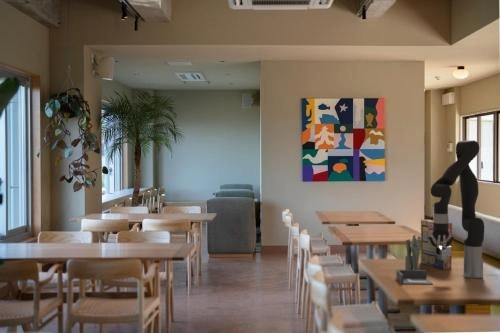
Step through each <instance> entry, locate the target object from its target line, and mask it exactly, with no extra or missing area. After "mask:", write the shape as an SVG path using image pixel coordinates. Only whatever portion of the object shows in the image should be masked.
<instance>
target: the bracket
mask: <svg viewBox="0 0 500 333" xmlns="http://www.w3.org/2000/svg"><path fill="white" fill-rule="evenodd" d="M404 243H405V249H406V255H405V257H404V258H405V262H404V263H405V264H404V266H405V267H404V268H405V269H404V270H419V259H420V254H421V243H422V240H421V236H417V238H416V234H414V235H412V240H410V238H408V239H407V240H405V242H404Z"/></svg>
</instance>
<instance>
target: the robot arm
mask: <svg viewBox="0 0 500 333" xmlns="http://www.w3.org/2000/svg"><path fill="white" fill-rule="evenodd" d="M479 152H480V144H479V142H478V141H476V140H471V139H469V140H460V141H458V142H457V143H456V145H455V156H456V161H455V162H453V163H452V164H450V165H449V166H448V167H447V169H446V170H445V172H444V173H443V174H442V176H441V177H440V178H438V179H437V180H436V181H435V182H434V183H433V184H432V185H431V188H430V195H431V196H432V197H434V198H440V201H436V202H434V203H433V217H432V218H433V219H432V220H433V233H432V235H431V236H428V238H429V240H430V242H431V244H432V245H433V246H434V247H436V253H437V254H438V255H440V248H439V244H440V241H441V242H442V248H443V249H445V248H446V247H449V245H450V244H451V242H453V240H454V239H455V238H454V236H450V235H449V233H448V223H450V222H449V221H450V220H449V203H450V201H451V196H452V188H451V186H453V185H454V184H455V183H456V181H457V180H458V178H459V187H460V188H459V189H460V197H461V198H460V199H461V226H462V229H463V230H464V231H465V232H467V237H466V238H465V239H464V240H463V276H464V277H465V278H469V279H481V278H482V279H483V278H484V260H483V242H484V238H485V222H484V220H483V219H482V218H480V217H478V216H477V215H476V203H477V200H478V197H479V181H478V178H477V177H476V176H477V175H475V173H474V172H473V170H472V168H471V167H470V163H471V162H472V161H473V160H474V159H475V158H476V157H477V155H478V154H479ZM433 237H434V238H435V239H436V244H435V243H434V241H433ZM447 238H448V241H447V243H446V239H447Z"/></svg>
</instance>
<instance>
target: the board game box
mask: <svg viewBox="0 0 500 333" xmlns="http://www.w3.org/2000/svg"><path fill="white" fill-rule="evenodd" d="M452 227H453V224H452V223H451V222H448V233H449V235H450V236H452V235H453V234H452V233H453V231H452V230H453V229H452ZM432 233H433V219H421V220H420V237H421V240H422V243H421V250H420V264H423V265H427V266H431V267H435V268H437V269H440V270H451V269H452V255H451V256H446V258H445V260H441V259H440V258H439V257H438V256H437V253H436V247H434V246H433V245H432V244H431V242H430V240H429V238H428V236H431V235H432ZM433 241H434V243H435V244H436V239H435V238H434V237H433ZM447 241H448V238H447V239H446V243H447ZM452 242H453V241H452ZM452 242H451V244H450V245H449V246H451V254H452V251H453V250H452V249H453V248H452V244H453V243H452ZM439 246H442V242H441V241H440V244H439Z"/></svg>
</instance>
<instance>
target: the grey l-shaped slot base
mask: <svg viewBox="0 0 500 333" xmlns="http://www.w3.org/2000/svg"><path fill="white" fill-rule="evenodd" d="M395 274H396V275H395V278H396V281H397V280H398V282H399V284H401V285H419V284H420V285H422V286H423V285H428V286H429V285H433V282H432V281H430V280H429V279H428V278H427V275H428V271H427V269H426V270H424V269H422V270H421V269H418V270H414V269H413V270H405V269H396V270H395Z"/></svg>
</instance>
